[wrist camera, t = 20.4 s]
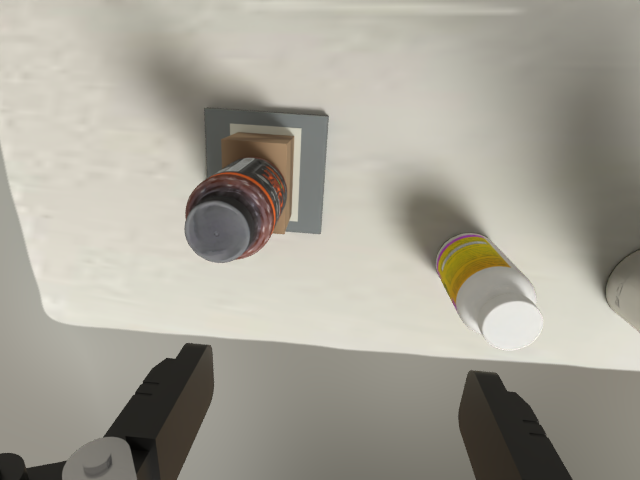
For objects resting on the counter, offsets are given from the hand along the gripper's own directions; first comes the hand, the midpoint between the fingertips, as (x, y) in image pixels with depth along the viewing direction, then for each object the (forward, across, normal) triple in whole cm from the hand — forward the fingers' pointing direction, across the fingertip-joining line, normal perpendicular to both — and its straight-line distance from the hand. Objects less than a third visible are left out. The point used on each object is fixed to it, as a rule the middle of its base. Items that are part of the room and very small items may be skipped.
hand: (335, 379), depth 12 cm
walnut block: (+29, +8, 0) cm, 30 cm away
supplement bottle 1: (+23, +8, 0) cm, 24 cm away
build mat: (+30, +8, 0) cm, 31 cm away
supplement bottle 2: (+30, -14, +8) cm, 34 cm away
